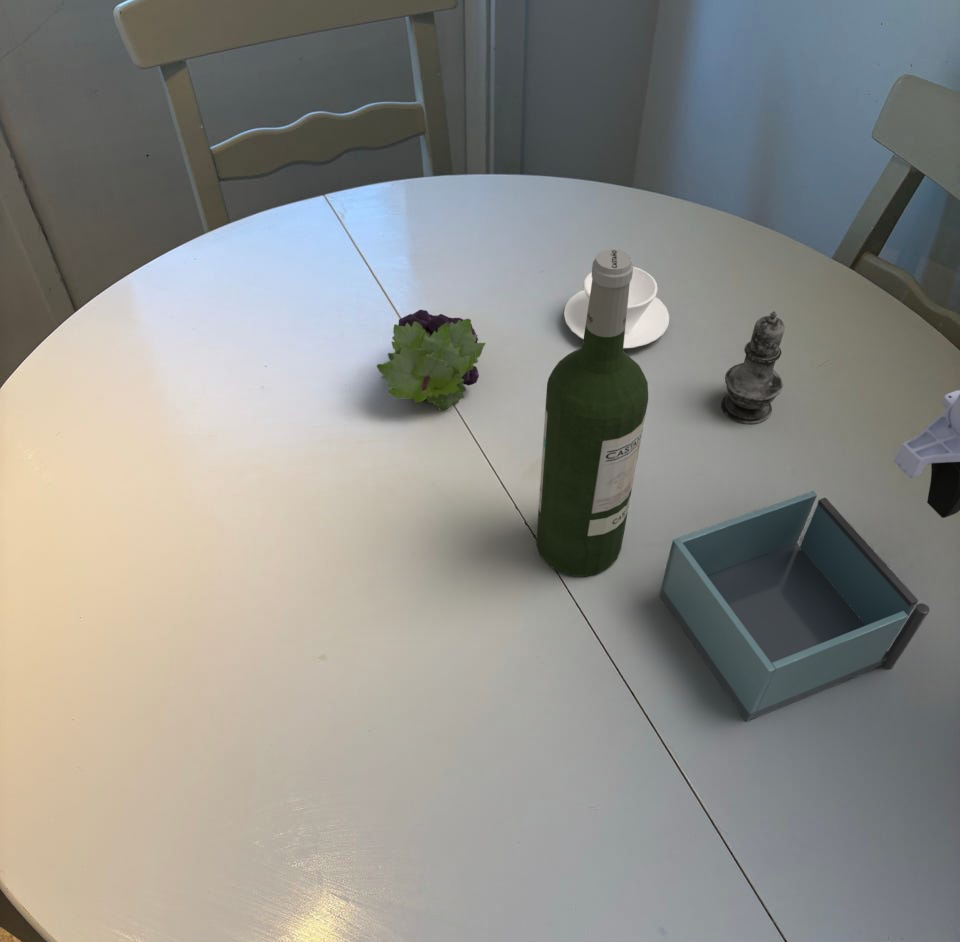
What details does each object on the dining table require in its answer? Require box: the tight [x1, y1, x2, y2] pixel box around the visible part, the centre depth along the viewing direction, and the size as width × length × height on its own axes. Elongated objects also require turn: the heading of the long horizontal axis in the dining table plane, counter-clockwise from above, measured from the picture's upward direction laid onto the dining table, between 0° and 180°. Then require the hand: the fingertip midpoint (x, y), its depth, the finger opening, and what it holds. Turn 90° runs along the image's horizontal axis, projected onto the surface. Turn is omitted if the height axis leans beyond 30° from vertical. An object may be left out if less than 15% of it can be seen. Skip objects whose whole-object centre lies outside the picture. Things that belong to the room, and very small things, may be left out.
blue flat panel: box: [799, 497, 919, 643], centre depth 78 cm, size 12×2×6 cm, turn 23°
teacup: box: [563, 266, 670, 349], centre depth 104 cm, size 12×12×5 cm
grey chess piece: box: [720, 311, 786, 425], centre depth 92 cm, size 6×6×12 cm
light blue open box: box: [659, 490, 930, 722], centre depth 76 cm, size 14×14×8 cm
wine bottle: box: [535, 248, 649, 577], centre depth 74 cm, size 8×8×30 cm
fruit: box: [376, 309, 487, 412], centre depth 96 cm, size 10×11×15 cm
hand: (941, 507), depth 76 cm, fingers closed
